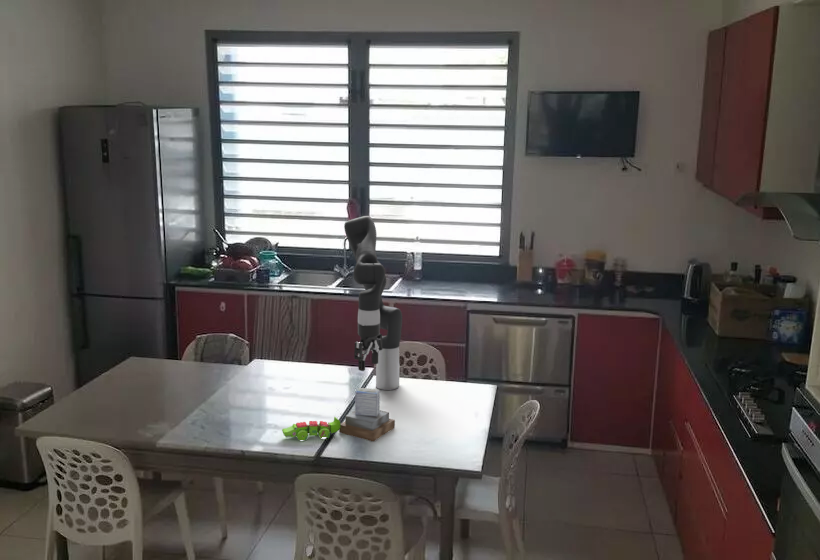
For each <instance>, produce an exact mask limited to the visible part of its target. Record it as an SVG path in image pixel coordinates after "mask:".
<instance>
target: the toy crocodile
mask: <svg viewBox="0 0 820 560" xmlns="http://www.w3.org/2000/svg"><path fill="white" fill-rule="evenodd" d="M340 424H341V421H340V419H338V417H336V416H334V417H333V420H332V421H331V422H327V421H323V420H320V421H319V423H318V421H317V420H310V421H309V423H308V424H307V422H306V421H302V422H301V421H300V422H296V423H293V424H292V425H290V426H289V427H285V428H282V429H281V431H282V433H283V436H285V438H287V439H288V438H297V440H298V441H299V440H305V441H307V440H308V437H309V436H311V437H313V436H316V437H317V436H318V437H319V438H320V439H321V438H322V437H327V438H328V439H329V438H330V437H331V434H333V433H337V432H339V429H340Z"/></svg>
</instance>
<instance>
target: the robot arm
mask: <svg viewBox="0 0 820 560" xmlns="http://www.w3.org/2000/svg"><path fill="white" fill-rule="evenodd" d="M343 228H344V233H345V236H346V239H347V241H348V244H349V246H350V249H351V251H352V253H353V256H354V259H355V262H356V264H355V266H354V269H353V275H352V276H353V280H354V281H355V283H357V284H358V285H363V287H364V290H362V291H360V292H359V294H358V311H357V335H358V336H359V337H360V341H359V342H358V341H355V342H354V351H353V352H354V354H353V355H354V356H353V359H354V360H358V371H361V372H364V371H366V358H367V356H368V355H369V353H370V352H371V364H373V365H376V367H375V368H376V369H375V387H376V389H379V390H382V391H390V390H391V391H393V390H397V389H398V388H399V387H400V386H399V385H400V368H401V367H400V344H401V343H400V342H401V338H402V328H403V327H402V326H403V313H402V311H401V309H400V308H397V307H393V306H388V305H385V304H384V302H383V297H382V296H383V292H384V291H385V288H386V284H387V277H386V269H385V267H384V265H383V264H382V263H381V262H380V261H379V260H378V256H377V252H376V251H377V250H376V248H377V247H376V246H377V229H376V228H377V227H376V225H375V222H374V219H373V218H372V217H371V216H370V215H363V216H361V217H356V218H352V219H349V220H347V221H345V222H344V227H343ZM381 329H382V330H386V331H387V333H386V335H383V334H382V333H381V332H380V331H381Z"/></svg>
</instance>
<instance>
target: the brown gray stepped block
mask: <svg viewBox="0 0 820 560" xmlns="http://www.w3.org/2000/svg"><path fill="white" fill-rule="evenodd" d="M395 422H396V420H395V419H393V418H390V412H389V411H384V410H381V409H380V412H379V414H378V416H377V417H376V416H363V415H355V410H353V411H351V412H350V413H348V414H346V415H345V421H343V422H340V429H339V430H338V432H339V433H340V434H343V435H346V436H350V437H353V438H354V437H355V438H357V439H361V440H366V441H370V442H376V441H377V440H379V439H380V438H383V436H385V435H387V434H388V433H389V432H391V431H392V430H394V429H395V428H396V427H395V425H396V424H395Z"/></svg>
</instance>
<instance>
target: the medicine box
mask: <svg viewBox="0 0 820 560" xmlns="http://www.w3.org/2000/svg"><path fill="white" fill-rule="evenodd" d="M380 390H381V389H379V388H367V387H366V388H365V387H364V388H363V387H358V388H357V389H356V391H355V393H354V395H355V396H354V398H355V399H354V400H355V401H354V402H355V403H354V405H355V406H354V411H355V415H363V416H376V417H377V416H378V414H379V412H380V410H381V409H380V404H381V402H380V397H381V396H380V393H381V391H380Z"/></svg>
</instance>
